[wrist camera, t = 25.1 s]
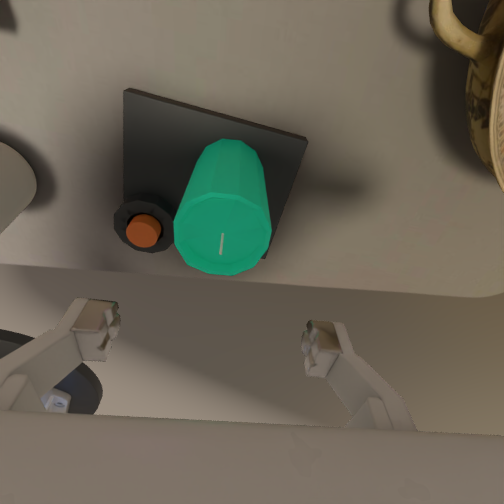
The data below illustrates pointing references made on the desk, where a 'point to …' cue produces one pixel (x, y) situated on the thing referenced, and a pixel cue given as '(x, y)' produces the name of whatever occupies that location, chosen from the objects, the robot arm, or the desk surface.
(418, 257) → the desk surface
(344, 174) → the desk surface
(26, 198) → the cup
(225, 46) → the desk surface
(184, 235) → the candle
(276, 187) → the scale
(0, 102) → the desk surface
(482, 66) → the ceramic bowl
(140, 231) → the button
